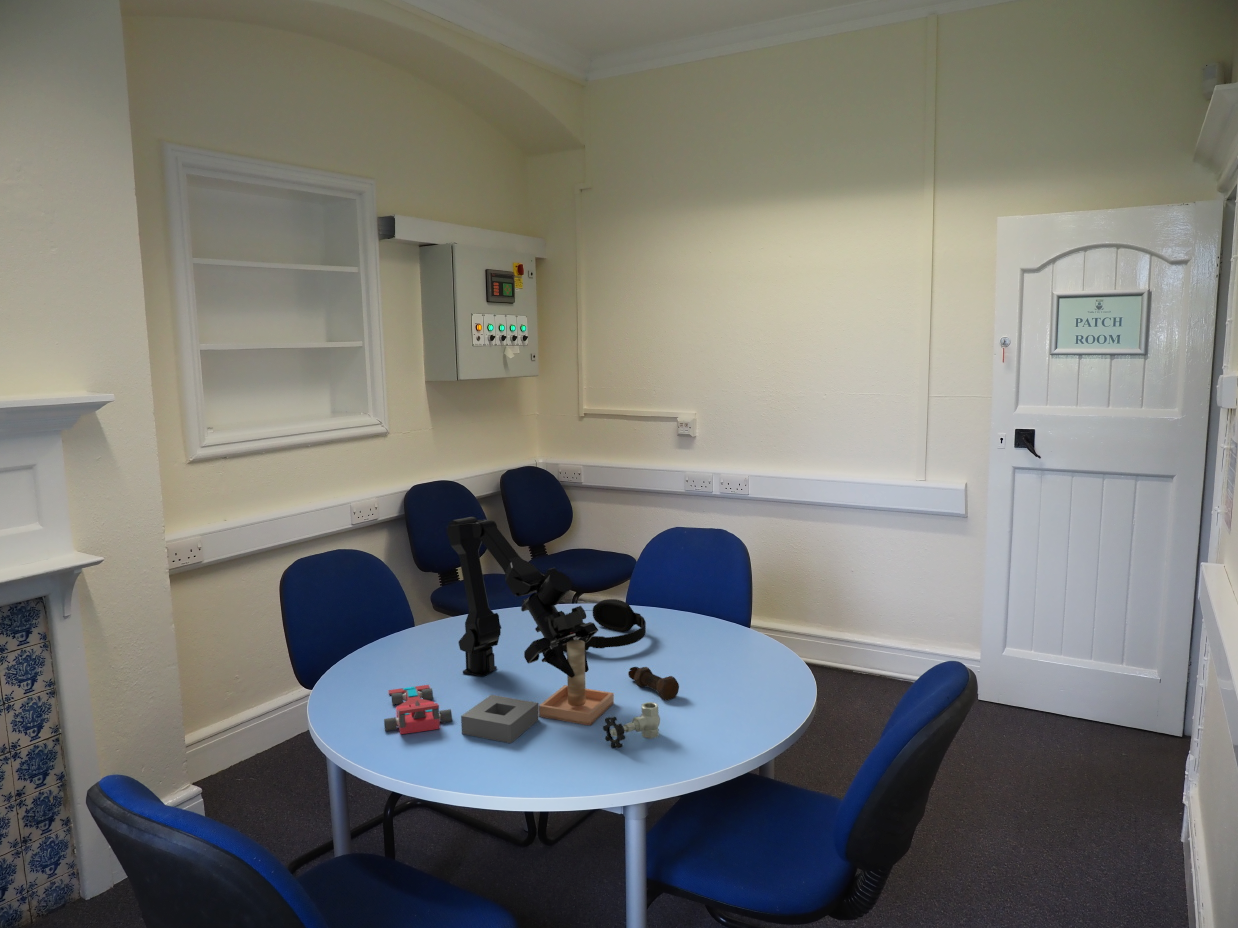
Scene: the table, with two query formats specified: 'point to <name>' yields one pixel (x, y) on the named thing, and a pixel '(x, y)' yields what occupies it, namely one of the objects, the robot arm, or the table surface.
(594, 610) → the headset
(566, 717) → the tray
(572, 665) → the dowel
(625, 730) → the valve
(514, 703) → the holder
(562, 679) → the table surface
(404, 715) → the race car
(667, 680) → the bolt
